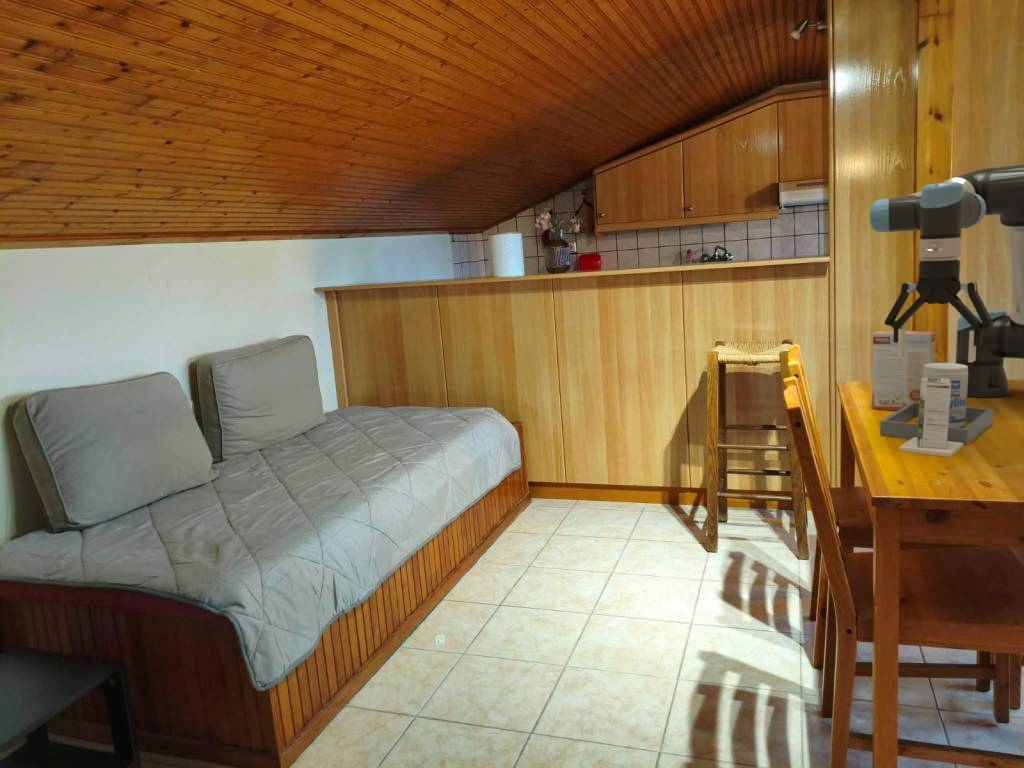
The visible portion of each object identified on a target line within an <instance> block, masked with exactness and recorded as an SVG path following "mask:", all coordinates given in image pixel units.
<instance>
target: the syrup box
mask: <svg viewBox="0 0 1024 768" xmlns="http://www.w3.org/2000/svg"><path fill="white" fill-rule="evenodd" d="M950 394H951V380H950V379H946V378H937V377H926V378H922V382H921V391H920V402H919V417H918V421H917V422H918V423H917V424H918V439H917V446H918V447H929V448H947V441H948V426H949V411H950Z"/></svg>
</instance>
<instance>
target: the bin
mask: <svg viewBox="0 0 1024 768" xmlns="http://www.w3.org/2000/svg"><path fill="white" fill-rule="evenodd" d="M993 416H994V408H993V409H992V408H983V407H971V406H966V420H965V421H970V422H969V424H968V425H966V426H964V428H963V427H960V428H952V427H948V441H951V442H960V443H963V446H965V445H967V446H968V445H970V444H971V443H972V442H973V441H974V440H975V439H976V438H977V437H979V436H980V435H981V434H982V433H983V432H985V431H986V428H987V427H988V426H989V427H990V426H992V425H993V418H994V417H993ZM911 418H912V419H913V418H919V403H917V402H911V403H910V404H908V405H906V406H905V407H903V408H901V409H900V410H898V411H894V412H893V413H891V414H890V415H888V416H886V417H884V418H883V419H881V420H880V421H879V422H880V427H879V428H880V429H879V435H880V434H881V435H887V436H886V437H889V436H893V437H892V438H898V437H900V439H906V438H907V439H909V440H910V439H912V438H913V437H917V438H918V423H914V422H913V423H912V422H908V421H910V420H912V419H911ZM906 421H907V422H906ZM989 427H988V428H989ZM979 434H980V435H979ZM881 435H880V436H881ZM978 435H979V436H978ZM970 442H971V443H970Z"/></svg>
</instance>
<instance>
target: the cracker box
mask: <svg viewBox="0 0 1024 768" xmlns="http://www.w3.org/2000/svg"><path fill="white" fill-rule="evenodd" d="M872 337H873V338H872V369H871V370H872V372H871V375H872V376H871V377H872V378H871V409H872V408H873V410H882V411H883V410H884V411H886V410H887V411H894V412H896V411H898V410H900V409H901V408H903V407H905V406H906V405H908V404H910V403H911V402H917V403H919V402H920V391H921V382H922V378H923V370H924V365H925V364H930V363H936V353H937V352H936V351H937V350H936V346H937V345H936V344H937V343H936V342H937V332H936V331H923V330H921V331H919V330H906V347H905V357H904V358H902V359H898V343H894V341H893V338H894V330H878V331H876V332H873V335H872Z"/></svg>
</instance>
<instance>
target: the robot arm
mask: <svg viewBox="0 0 1024 768" xmlns="http://www.w3.org/2000/svg"><path fill="white" fill-rule="evenodd" d="M996 215H998V216H999V222H1000V225H1002V226H1003V227H1005V228H1006V229H1007V232H1008V241H1009V250H1010V251H1009V252H1010V263H1011V264H1010V265H1011V271H1012V273H1011V274H1012V283H1013V285H1012V286H1013V294H1014V295H1013V296H1014V304H1015V308H1014V309H1012V310H1011V311H1010V313H1009V315H1008V312H1007V310H1006V309H992V310H987V307H986V306H985V304H984V301H983V300H982V298H981V296H980V293H979V292H978V284H977V281H971V282H966V283H964V282H963V283H961V281H960V275H961V274H960V272H961V269H960V268H961V261H960V260H959V259H958V258H959V257H960V256H961V251H962V250H961V246H962V244H961V243H962V229H968V228H971V227H973V226H975V225H977V224H979V223H980V222H981V221H982V220H983V219H984V218H985V216H996ZM869 223H870V227H871V228H872V230H873V231H875V232H876V233H894V232H908V231H909V232H910V231H912V232H913V231H919V254H918V257H919V258H920V259H922V260H920V261H919V262H918V280H917V283H911V282H909V281H907V282H904V283H902V284H901V289H900V294H899V296H898V297H897V299H896V301H895V303H894V305H893V306H892V308H891V309H890V311H889V313H888V315H887V317H886V319H885V320H884V322H883V323H884V325H885V326H890V327H891V328H892V329H893V331H894V338H893V341H894V343H898V359H902V358H904V357H905V347H906V331H907V327H905V326H904V324H905V323H906V322H908V320H910V318H911V317H912V316H913V315H914V314H915V313H916V312H917V311H918V310H919V309H920V308H921V307H922V306H923V305H924V304H925V303H927V304H928V305H934V304H939V305H946V304H950V305H951V306H952V307H953V308H954V309H955V310H956V311H957V312H958V313H959V314H960V316H959V318H958V320H957V328H956V346H955V347H956V348H955V349H956V350H955V364H962V365H966V366H968V386H967V397H969V396H970V397H971V398H999V397H1005V396H1008V395H1009V394H1010V389H1011V387H1010V383H1009V380H1008V376H1007V373H1006V371H1005V368H1004V364H1005V363H1004V362H1005V359H1019V360H1024V164H1016V165H1008V166H999V167H988V168H982V169H977V170H972V171H970V172H967V173H962V174H960V175H958V176H955V177H952V178H948V179H946V180H944V181H943V182H942V183H931V184H926V185H924V186H923V188H922V189H921V190H920V191H917V192H914V193H910V194H908V195H903V196H899V197H893V198H889V197H887V198H882V199H881V198H880V199H877V200H876V201H874V202H873V204H872V205H871V206H870V210H869ZM914 290H916V292H917V293H918V294H919V297H918V298H917V299H916V300H915V301H914V302H913V303H912V304H911V305H910V306H909V308H907V310H906V311H905V312H904V313H902V315H901V316H900V317H899V318H898V319H897V317H898V316H899V313H900V312H901V310H902V309H903V307H904V305H905V303H906V301H907V300H908V298H909V296H910V294H912V293H913V292H914ZM961 290H963V292H964V293H965V294H967V295H968V297H969V300H970V301H971V304H972V305H973V308H974V309H975V310H976V312H972V311H971V310H970V309H969V308H968V307H967V305H966V304H965V303H963V301H962V299H961V298H960V296H958V293H959V292H960V291H961ZM896 319H897V320H896ZM903 326H904V327H903Z"/></svg>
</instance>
